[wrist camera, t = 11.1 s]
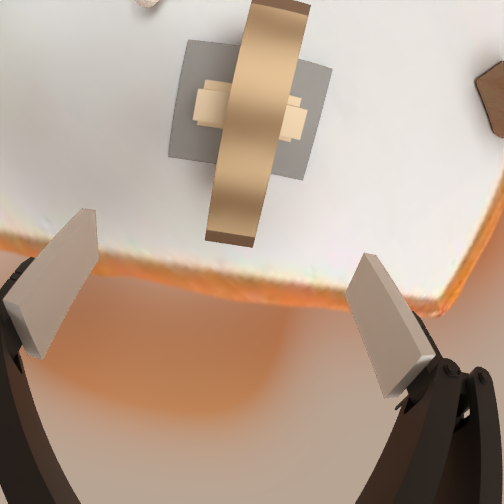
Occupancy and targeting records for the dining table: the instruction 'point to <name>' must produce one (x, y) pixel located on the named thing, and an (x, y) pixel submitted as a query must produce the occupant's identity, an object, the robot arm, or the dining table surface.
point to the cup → (146, 3)
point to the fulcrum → (216, 102)
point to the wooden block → (494, 97)
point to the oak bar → (255, 118)
